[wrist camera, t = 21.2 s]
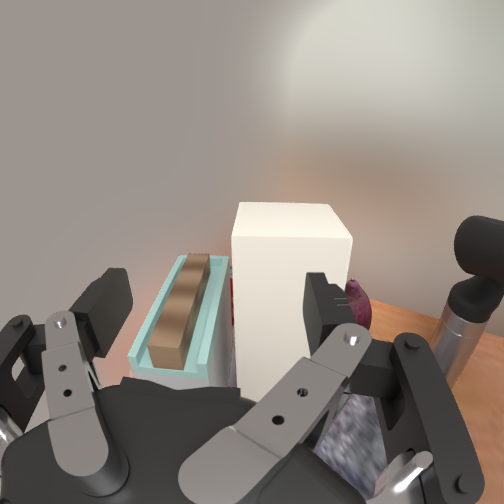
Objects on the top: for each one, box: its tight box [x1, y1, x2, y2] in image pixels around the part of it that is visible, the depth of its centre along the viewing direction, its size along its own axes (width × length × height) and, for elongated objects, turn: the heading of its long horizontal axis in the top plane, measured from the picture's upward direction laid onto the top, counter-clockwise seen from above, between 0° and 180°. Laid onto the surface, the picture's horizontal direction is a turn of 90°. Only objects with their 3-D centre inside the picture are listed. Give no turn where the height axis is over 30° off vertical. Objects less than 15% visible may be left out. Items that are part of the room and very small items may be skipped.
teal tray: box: [128, 255, 230, 379], centre depth 41 cm, size 26×9×2 cm, turn 178°
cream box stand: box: [232, 202, 353, 402], centre depth 41 cm, size 12×12×32 cm
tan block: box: [147, 254, 211, 371], centre depth 39 cm, size 22×4×4 cm, turn 179°
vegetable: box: [344, 278, 372, 330], centre depth 61 cm, size 10×10×15 cm
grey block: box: [133, 270, 233, 390], centre depth 45 cm, size 26×9×18 cm, turn 178°
